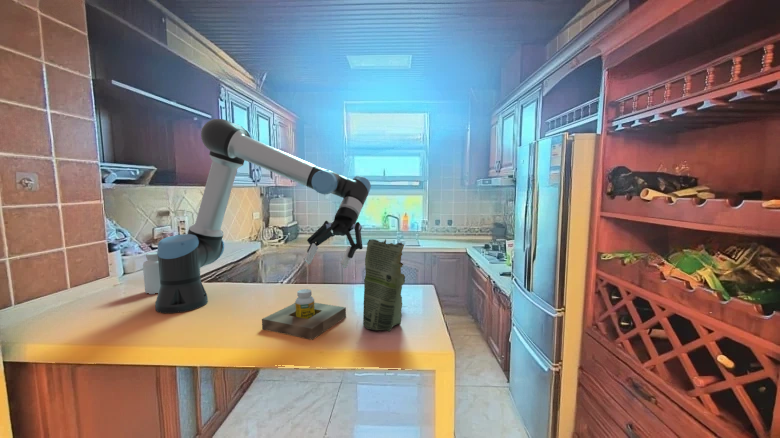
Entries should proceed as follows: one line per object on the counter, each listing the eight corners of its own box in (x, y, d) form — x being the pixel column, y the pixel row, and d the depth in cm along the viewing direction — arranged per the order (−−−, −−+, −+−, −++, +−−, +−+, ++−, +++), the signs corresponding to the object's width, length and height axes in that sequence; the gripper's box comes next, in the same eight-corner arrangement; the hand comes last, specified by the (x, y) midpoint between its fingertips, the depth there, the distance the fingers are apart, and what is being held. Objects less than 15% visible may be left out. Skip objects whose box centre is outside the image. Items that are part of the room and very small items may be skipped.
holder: (262, 329, 97) (261, 318, 97) (300, 309, 112) (300, 300, 112) (312, 339, 90) (311, 328, 90) (345, 316, 106) (345, 307, 105)
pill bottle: (139, 294, 130) (136, 254, 128) (157, 287, 138) (154, 250, 136) (158, 295, 128) (155, 255, 127) (174, 288, 136) (172, 251, 135)
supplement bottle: (311, 317, 105) (310, 287, 104) (317, 323, 101) (316, 291, 100) (293, 321, 102) (292, 290, 101) (299, 328, 98) (298, 295, 97)
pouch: (364, 318, 104) (363, 236, 102) (404, 318, 104) (403, 236, 102) (361, 334, 93) (360, 242, 91) (405, 333, 93) (405, 242, 91)
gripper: (383, 220, 119) (363, 273, 107) (323, 218, 129) (298, 266, 117) (376, 206, 114) (355, 260, 101) (314, 205, 124) (287, 254, 112)
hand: (324, 263), depth 109 cm, fingers open, 13 cm apart
